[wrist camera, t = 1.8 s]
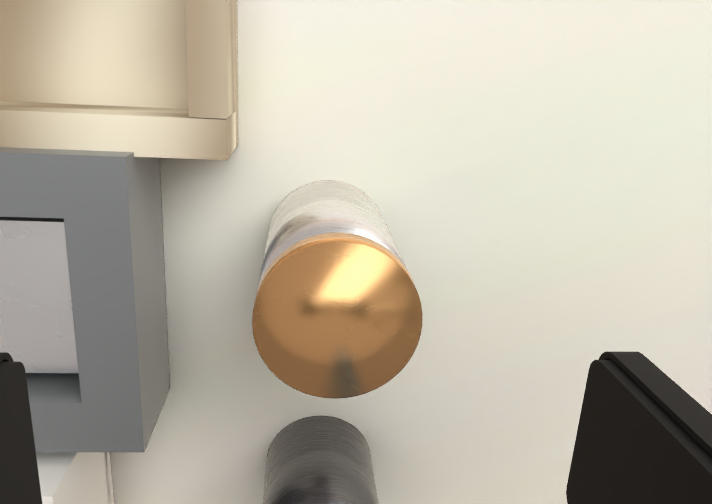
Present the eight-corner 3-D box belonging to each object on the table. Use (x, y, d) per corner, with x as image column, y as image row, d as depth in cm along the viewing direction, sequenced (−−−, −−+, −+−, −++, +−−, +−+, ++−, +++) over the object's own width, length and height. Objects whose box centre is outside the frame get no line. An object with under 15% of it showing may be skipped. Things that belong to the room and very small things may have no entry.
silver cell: (389, 182, 21) (429, 244, 14) (381, 293, 22) (415, 398, 15) (269, 178, 20) (252, 239, 14) (268, 291, 22) (252, 397, 15)
